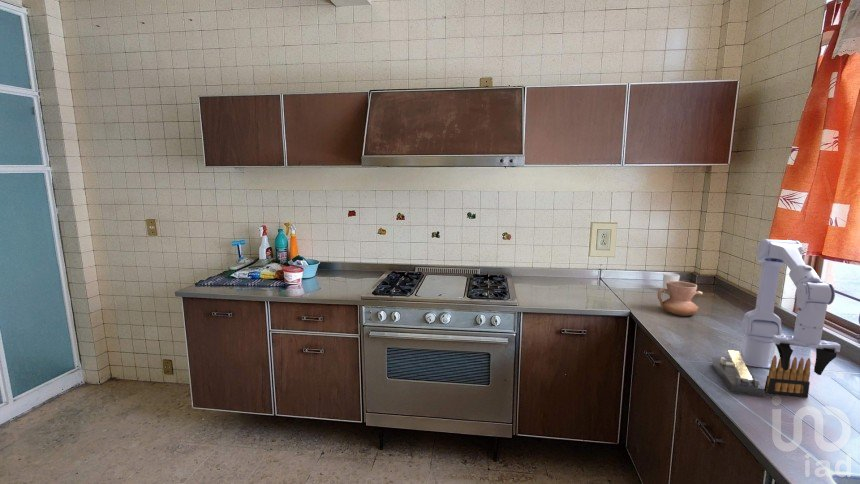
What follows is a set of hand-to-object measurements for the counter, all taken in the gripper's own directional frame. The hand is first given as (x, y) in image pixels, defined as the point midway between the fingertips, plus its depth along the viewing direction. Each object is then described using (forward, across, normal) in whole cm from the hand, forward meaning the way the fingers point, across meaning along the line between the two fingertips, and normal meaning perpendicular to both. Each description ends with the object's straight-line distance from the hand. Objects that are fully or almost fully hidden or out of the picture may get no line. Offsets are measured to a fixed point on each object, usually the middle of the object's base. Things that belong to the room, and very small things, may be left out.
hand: (800, 371), depth 119 cm
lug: (+8, -11, +16) cm, 21 cm away
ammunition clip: (+10, 0, +6) cm, 12 cm away
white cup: (+10, -10, +116) cm, 117 cm away
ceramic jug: (+10, -14, +78) cm, 80 cm away
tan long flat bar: (+5, -11, +10) cm, 16 cm away
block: (+10, -11, +11) cm, 19 cm away
